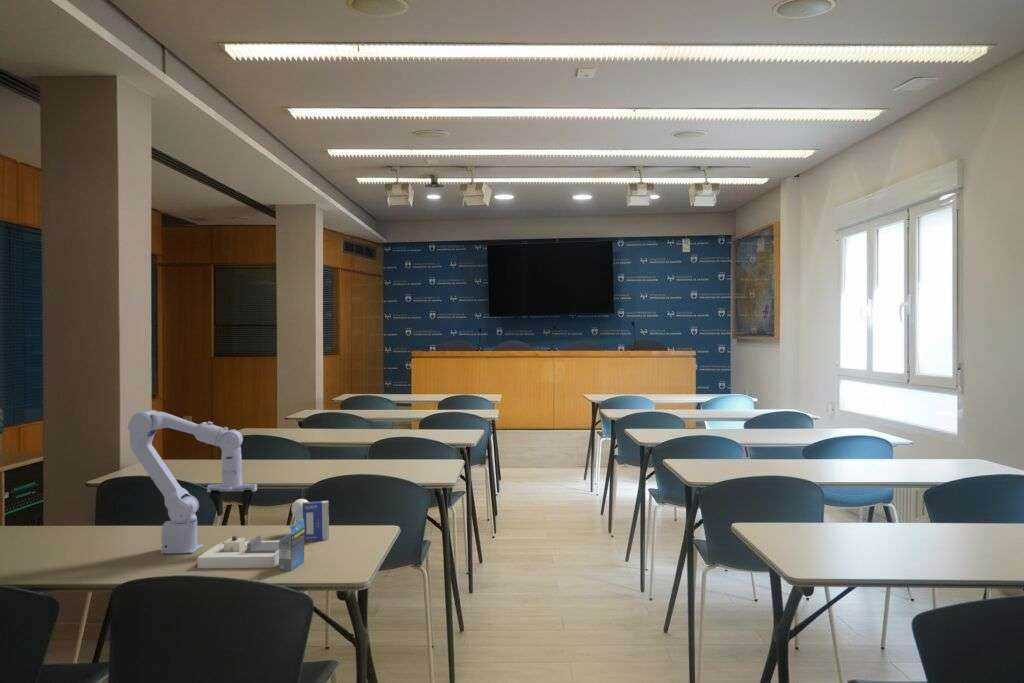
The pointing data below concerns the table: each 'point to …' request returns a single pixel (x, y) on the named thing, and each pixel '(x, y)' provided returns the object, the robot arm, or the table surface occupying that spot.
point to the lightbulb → (298, 510)
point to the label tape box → (292, 548)
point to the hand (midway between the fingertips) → (232, 515)
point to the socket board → (236, 558)
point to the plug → (234, 544)
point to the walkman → (316, 520)
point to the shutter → (261, 546)
